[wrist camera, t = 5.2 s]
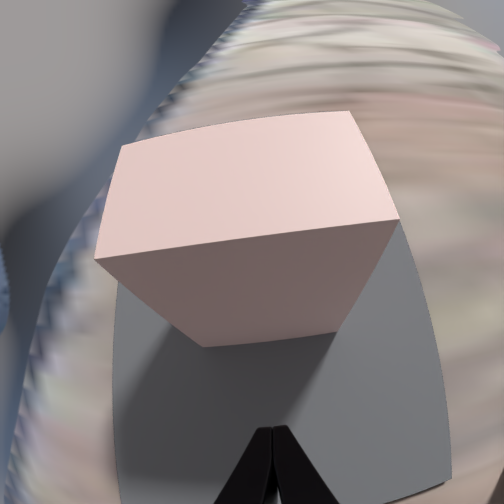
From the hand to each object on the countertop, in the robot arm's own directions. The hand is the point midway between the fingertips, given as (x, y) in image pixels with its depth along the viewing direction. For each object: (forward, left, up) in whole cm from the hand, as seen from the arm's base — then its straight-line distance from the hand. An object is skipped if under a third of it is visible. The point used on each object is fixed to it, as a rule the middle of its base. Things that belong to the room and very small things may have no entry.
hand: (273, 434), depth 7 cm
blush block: (+2, +6, -6) cm, 9 cm away
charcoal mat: (+3, +8, -7) cm, 11 cm away
